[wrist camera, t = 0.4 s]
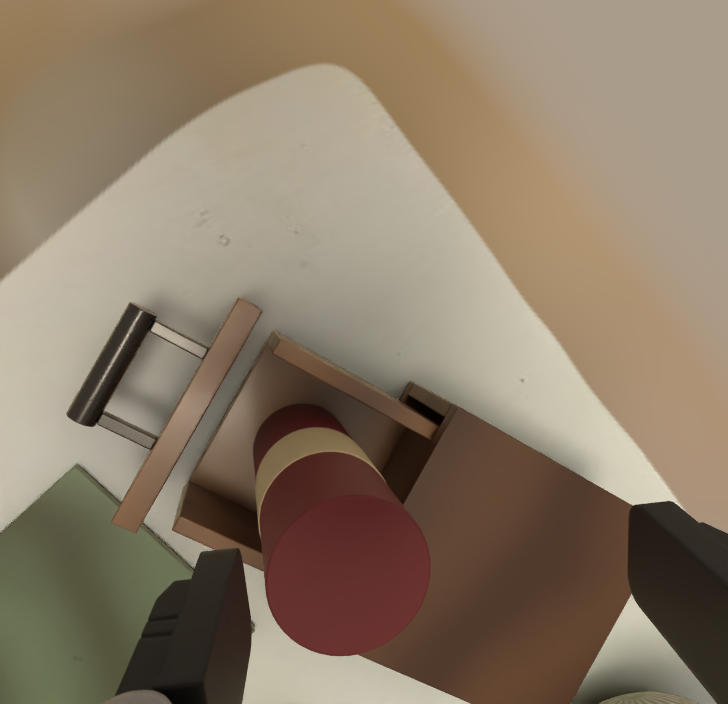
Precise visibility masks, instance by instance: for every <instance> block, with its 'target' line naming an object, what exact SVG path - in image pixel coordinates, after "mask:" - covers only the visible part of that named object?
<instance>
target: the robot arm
mask: <svg viewBox="0 0 728 704" xmlns="http://www.w3.org/2000/svg"><path fill="white" fill-rule="evenodd" d="M627 572H628V581H629V586H630V589H631V592H632V595H633V597H634V599H635V601H636V603H637V604H638V606H639V607H640V608H641V609H642V611H643V612H644V613H645V614H646V616H647V617H648V618H649V619H650V621H651V622H652V623H653V624H654V626H655V627H656V628H657V629H658V631H659V632H660V633H661V634H662V636H663V637H664V638H665V639H666V641H667V642H668V643H669V644H670V645H671V647H672V648H673V649H674V650H675V652H676V653H677V654H678V655H679V657H680V658H681V659H682V660H683V662H684V663H685V664H686V665H687V667H688V668H689V669H690V670H691V672H692V673H693V674H694V675H695V677H696V678H697V679H698V680H699V681H700V683H701V684H702V685H703V686H704V688H705V689H706V690H707V691H708V693H709V694H710V695H711V696H712V698H713V699H714V700H715V701H716V703H717V704H728V534H727V533H725V532H723V531H721V530H718V529H716V528H714V527H712V526H710V525H708V524H705V523H698V522H697V521H696V520H695V519H694V518H692V517H691V516H690V515H689V514H687V513H686V512H685V511H684V510H683V509H681V508H680V507H679V506H678V505H677V504H675V503H674V502H671V501H666V502H657V503H648V504H639V505H633V506H632V507H631V509H630V512H629V525H628V568H627ZM250 650H251V616H250V609H249V602H248V595H247V588H246V581H245V574H244V567H243V560H242V555H241V551H240V549H239V548H232V549H222V550H213V551H204V552H201V553H200V555H199V558H198V561H197V564H196V566H195V569H194V572H193V575H192V578H191V579H186V580H178V581H174V582H173V583H172V584H171V585H170V586H169V587H168V588H167V589H166V590H165V591H164V592H163V593H162V594H161V595H160V596H159V597H158V598H157V599H156V601H155V603H154V606H153V608H152V610H151V613H150V615H149V617H148V622H146V624H145V627H144V629H143V631H142V634H141V639H139V641H138V643H137V645H136V648H135V650H134V652H133V655H132V657H131V659H130V662H129V664H128V666H127V669H126V671H125V673H124V676H123V678H122V680H121V683H120V685H119V687H118V690H117V692H116V694H115V697H113V698H111V699H109V700H107V701H105V702H103V703H102V704H242V700H243V694H244V688H245V681H246V675H247V669H248V663H249V657H250Z"/></svg>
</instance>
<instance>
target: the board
mask: <svg viewBox="0 0 728 704" xmlns="http://www.w3.org/2000/svg"><path fill="white" fill-rule="evenodd" d="M120 504H121V503H119V502H118V501H117V500H116V499H115V498H114V497H113V496H112V495H111V494H110V493H108V492H107V491H106V490H105V489H104V488H103V487H102V486H101V485H100V484H99V483H98V482H96V481H95V480H94V479H93V478H92V477H91V476H90V475H89V474H88V473H87V472H85V471H84V470H83V469H82V468H81V467H80V466H79V465H75V466H74V467H73V468H72V469H71V470H70V471H68V472H67V473H66V474H65V475H64V476H63V477H62V478H61V479H60V480H59V481H57V482H56V483H55V484H54V485H53V486H52V487H51V488H50V489H49V490H47V491H46V492H45V493H44V494H43V495H42V496H41V497H40V498H39V499H37V500H36V501H35V502H34V503H33V504H32V505H31V506H30V507H29V508H27V509H26V510H25V511H24V512H23V513H22V514H21V515H20V516H19V517H17V518H16V519H15V520H14V521H13V522H12V523H11V524H10V525H9V526H8V527H6V528H5V529H4V530H3V531H2V532H1V533H0V704H102V703H103V702H105V701H107V700H109V699H111V698H113V697H115V694H116V692H117V690H118V687H119V685H120V683H121V680H122V678H123V676H124V673H125V671H126V669H127V666H128V664H129V662H130V659H131V657H132V655H133V652H134V650H135V648H136V645H137V643H138V641H139V639H141V634H142V631H143V629H144V627H145V624H146V622H148V617H149V615H150V613H151V610H152V608H153V606H154V603H155V601H156V599H157V598H158V597H159V596H160V595H161V594H162V593H163V592H164V591H165V590H166V589H167V588H168V587H169V586H170V585H171V584H172V583H173V582H174V581H178V580H186V579H191V578H192V575H193V572H194V570H193V569H192V568H191V567H190V566H189V565H188V564H186V563H185V562H184V561H183V560H182V559H181V558H180V557H179V556H178V555H177V554H175V553H174V552H173V551H172V550H171V549H170V548H169V547H168V546H167V545H166V544H165V543H163V542H162V541H161V540H160V539H159V538H158V537H157V536H156V535H155V534H154V533H152V532H151V531H150V530H149V529H148V528H147V527H146V526H145V525H144V524H143V523H142V524H141V526H140V528H139V529H138V531H137V533H133V532H131V531H129V530H126V529H124V528H122V527H120V526H117V525H115V524H113V523H111V521H112V519H113V517H114V515H115V513H116V512H117V510H118V508H119V506H120ZM254 631H255V626H254V625H253V624H252V623H251V634H252V633H253V632H254Z"/></svg>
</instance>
